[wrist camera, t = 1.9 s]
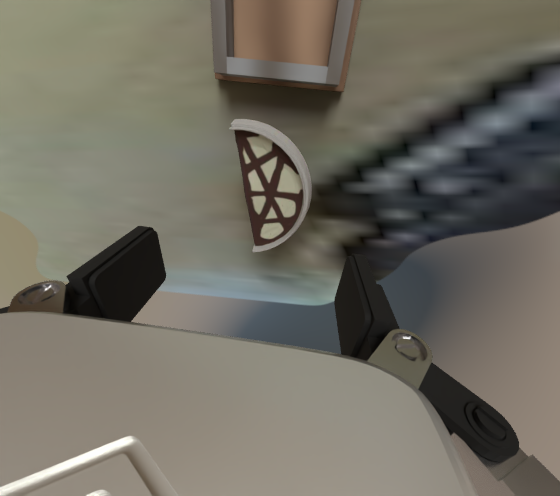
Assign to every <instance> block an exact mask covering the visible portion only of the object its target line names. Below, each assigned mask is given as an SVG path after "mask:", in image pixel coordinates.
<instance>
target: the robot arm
mask: <svg viewBox="0 0 560 496" xmlns="http://www.w3.org/2000/svg"><path fill="white" fill-rule="evenodd" d="M67 278H68V280H69V283H68V284H66V285H65V284H64V283H63V282H61V281H57V280H56V281H44V282H40V283H37V284H34V285H31V286H29V287H27V288H25V289H23V290H21V291H20V292H18V293H17V294H16V295H15V296H14V297H13V299H12V301H11V304H10V306H8V307H5V308H2V309H0V496H560V481H559V480H557V478H555V476H554V475H553V474H551V472H550V471H549V470H548V469H546V467H545V466H544V465H542V464H541V463H540V462H539V461H538V460H537V459H536V458H535V457H534V456H533V455H531V456H529V457H528V456H527V455H526V454H525V453H524V452H523V451H522V450H521V449H520V448H519V441H518V438H517V436H516V433H515V432H514V430H513V428H512V427H511V425H510V424H509V423H508V422H507V420H506V419H505V418H504V417H503V416H502V415H501V414H500V413H499V412H498V411H496V410H495V409H494V408H493V407H491V406H490V405H489V404H487V403H486V402H485V401H483V400H482V399H480V398H479V397H478V396H477V395H475V394H474V393H472V392H471V391H470V390H468V389H467V388H466V387H464V386H463V385H461V384H460V383H459V382H457V381H456V380H455V379H453V378H452V377H450V376H449V375H448V374H447V373H445V372H444V371H442V370H441V369H440V368H439V367H437V366H436V365H434V364H433V363H432V358H433V356H432V352H431V350H430V348H429V346H428V345H427V344H426V343H425V342H424V340H423V339H421V338H420V337H419V336H417V335H416V334H414V333H412V332H410V331H407V330H403V329H399V326H398V324H397V322H396V319H395V317H394V314H393V312H392V310H391V307H390V305H389V302H388V300H387V298H386V295H385V293H384V290H383V288H382V286H381V285H379V284H376V281H375V279H374V276H373V274H372V271H371V268H370V266H369V263H368V261H367V258H366V256H365V255H359V254H352V255H351V256H348V257H347V259H346V262H345V266H344V269H343V272H342V276H341V279H340V283H339V286H338V289H337V293H336V296H335V311H336V318H337V326H338V333H339V340H340V347H341V354H342V355H341V354H336V353H331V352H326V351H320V350H314V349H308V348H302V347H296V346H290V345H283V344H277V343H270V342H264V341H257V340H251V339H243V338H237V337H231V336H224V335H217V334H210V333H204V332H197V331H190V330H183V329H175V328H169V327H162V326H155V325H148V324H141V323H134V322H131V321H132V320H133V318H134V317H135V316H136V315H137V313H138V312H139V311H140V310H141V309H142V307H143V306H144V305H145V304H146V303H147V301H148V300H149V299H150V298H151V296H152V295H153V294H154V293H155V292H156V290H157V289H158V288H159V287H160V286H161V284H162V283H163V282H164V281H165V278H166V272H165V267H164V263H163V258H162V253H161V249H160V244H159V239H158V235H157V232H156V231H154V229H153V228H151V227H144V226H138V227H136V228H135V229H133V230H132V231H131V232H129V233H128V234H126V235H125V236H123V237H122V238H121V239H119V240H118V241H116V242H115V243H113V244H112V245H111V246H109V247H108V248H106V249H105V250H103V251H102V252H101V253H99V254H98V255H96V256H95V257H93V258H92V259H91V260H89V261H88V262H86V263H85V264H83V265H82V266H81V267H79V268H78V269H76V270H75V271H74V272H72V273H71V274H69V275H68V276H67Z"/></svg>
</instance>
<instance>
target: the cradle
mask: <svg viewBox="0 0 560 496" xmlns="http://www.w3.org/2000/svg"><path fill="white" fill-rule="evenodd" d="M360 4H361V0H211V18H212V38H213V58H214V72H215V78H216V79H219V80H228V81H238V82H248V83H258V84H267V85H277V86H287V87H297V88H307V89H316V90H326V91H336V92H343V91H344V86H345V81H346V76H347V71H348V66H349V61H350V55H351V50H352V45H353V40H354V35H355V30H356V25H357V19H358V14H359V9H360Z"/></svg>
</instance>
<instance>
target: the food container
mask: <svg viewBox="0 0 560 496" xmlns="http://www.w3.org/2000/svg"><path fill="white" fill-rule="evenodd" d="M229 129H230V130H235V137H236V143H237V147H238V152H239V158H240V164H241V170H242V176H243V183H244V190H245V197H246V202H247V206H248V211H249V216H250V221H251V226H252V232H253V237H254V243H255V244H254V247H253V251H252V252H260V251H264V250H268V249H271V248H273V247H276V246H277V245H279V244H281V243H282V242H284V241H286V240H287V239H288V238H289V237H290V236H292V235H293V234H294V232H295V231H296V230H297V229H298V227H299V226H300V224H301V223H302V221H303V219H304V218H305V216H306V214H307V211H308V208H309V205H310V200H311V190H312V186H311V177H310V174H309V170H308V166H307V164H306V162H305V160H304V158H303V156H302V154H301V153H300V151H299V150H298V148H297V147H296V146H295V145H294V143H293V142H292V141H291V140H290V139H289V138H288V137H287V136H285V135H284V134H283V133H281V132H280V131H279V130H277V129H275V128H273V127H272V126H270V125H268V124H265V123H262V122H259V121H255V120H248V119H235V120H234V121H233V122H232V123H231V128H229Z"/></svg>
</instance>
